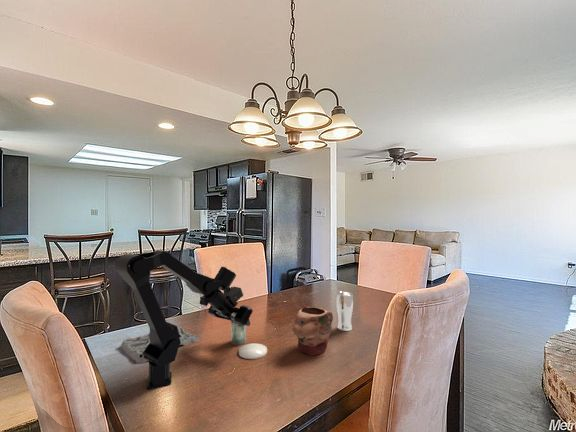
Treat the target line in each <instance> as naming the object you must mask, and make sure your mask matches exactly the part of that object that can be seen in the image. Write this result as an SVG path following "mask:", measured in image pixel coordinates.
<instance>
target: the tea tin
mask: <svg viewBox="0 0 576 432" xmlns="http://www.w3.org/2000/svg"><path fill="white" fill-rule="evenodd" d="M234 317H235V314H231V320H230V324H231V325H230V326H231V328H230V333H231V334H230V338H231V340H230V343H231V345H233V346H243V345H245V344H246V342H247V335H246V334H247V326H245V325H240V324H237V323H236V322H235V321H234Z"/></svg>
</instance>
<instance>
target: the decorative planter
mask: <svg viewBox="0 0 576 432" xmlns="http://www.w3.org/2000/svg"><path fill="white" fill-rule="evenodd" d="M333 320H334V316H333V313H332V311H330V310H326V309H325V308H321V307H316V306H303V308H301V309H299V310H298V312H297V315H296V317H295V320H293V322H292V332H293V333H294V335H295V336H296V337H297V347H298V350H299V351H300V352H302V353H305V354H307V355H311V356H316V355H320V354H323V353H324V352H325V351H326V350H327V348H328V343H329V338H330V334H331V332H332V327H333V325H332V324H333Z"/></svg>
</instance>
